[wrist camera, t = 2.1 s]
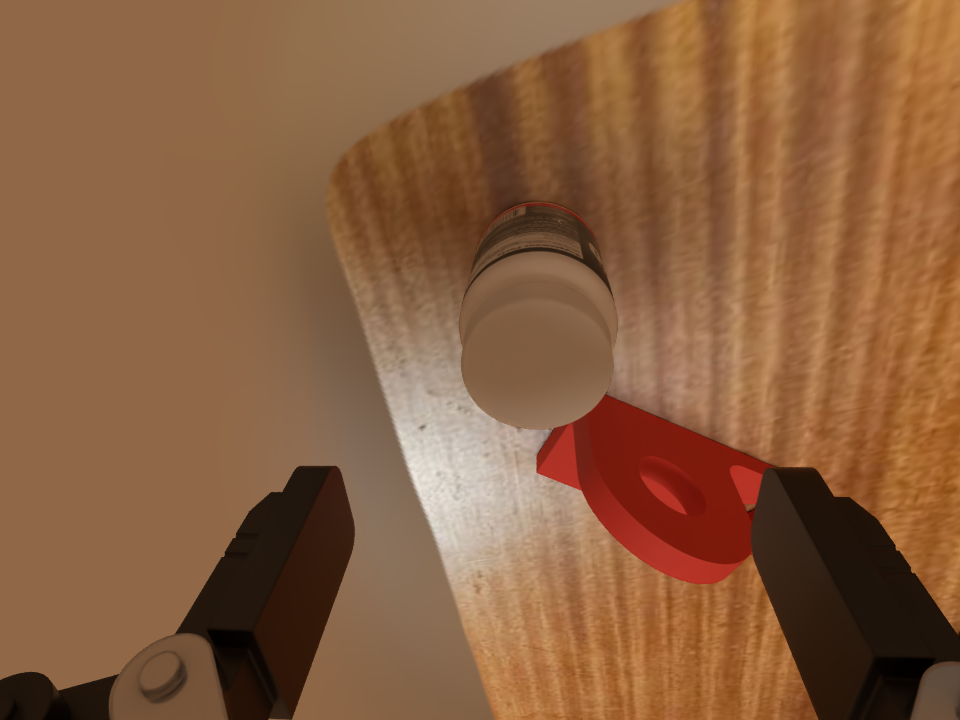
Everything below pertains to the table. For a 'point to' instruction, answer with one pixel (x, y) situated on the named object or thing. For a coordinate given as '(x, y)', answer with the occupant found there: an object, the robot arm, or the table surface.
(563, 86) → the table surface
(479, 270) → the pill bottle
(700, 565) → the bracket
